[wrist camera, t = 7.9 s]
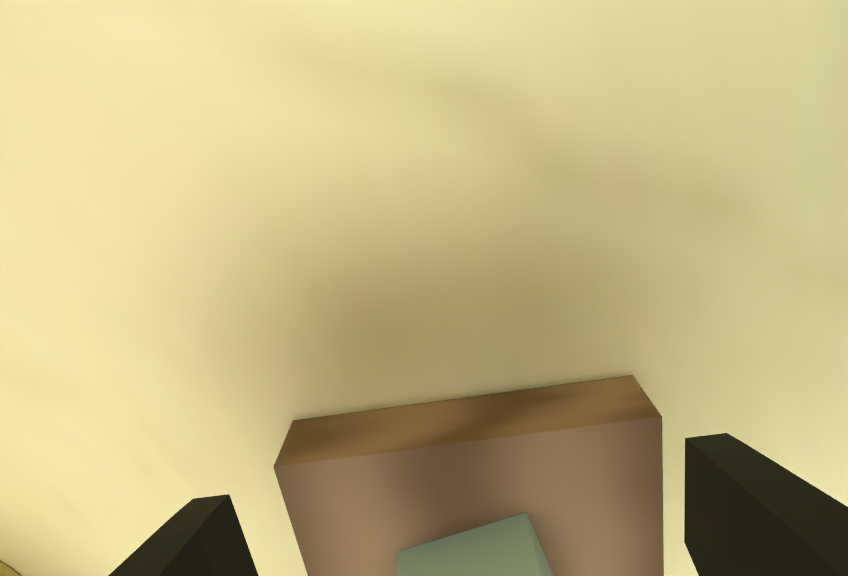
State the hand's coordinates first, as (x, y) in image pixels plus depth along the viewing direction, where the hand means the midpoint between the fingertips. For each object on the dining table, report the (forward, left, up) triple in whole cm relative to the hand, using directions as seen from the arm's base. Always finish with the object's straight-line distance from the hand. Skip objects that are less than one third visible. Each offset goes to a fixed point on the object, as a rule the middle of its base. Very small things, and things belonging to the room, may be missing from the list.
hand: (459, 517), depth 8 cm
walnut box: (0, +10, -10) cm, 14 cm away
